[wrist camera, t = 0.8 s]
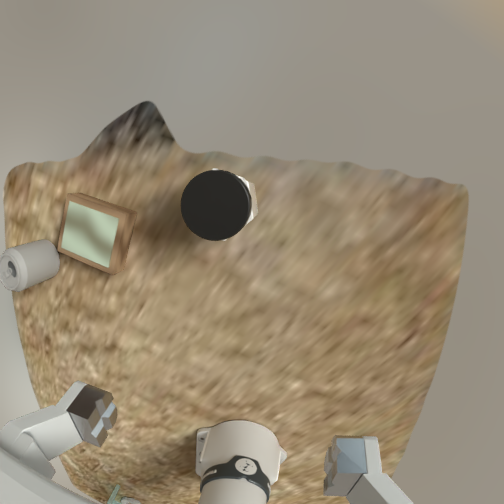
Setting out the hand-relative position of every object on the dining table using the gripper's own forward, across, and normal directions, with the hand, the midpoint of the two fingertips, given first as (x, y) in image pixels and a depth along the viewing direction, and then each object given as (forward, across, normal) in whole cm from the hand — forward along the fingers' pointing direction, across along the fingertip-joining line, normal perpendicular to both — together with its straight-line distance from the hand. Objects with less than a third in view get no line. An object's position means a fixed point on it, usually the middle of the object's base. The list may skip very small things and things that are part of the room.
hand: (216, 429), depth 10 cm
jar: (+40, -8, -2) cm, 40 cm away
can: (+35, -43, -14) cm, 57 cm away
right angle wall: (+23, -31, -83) cm, 92 cm away
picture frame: (+37, -30, -8) cm, 48 cm away
